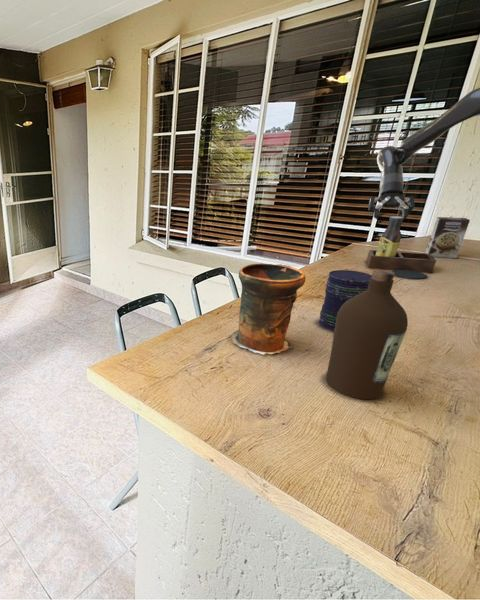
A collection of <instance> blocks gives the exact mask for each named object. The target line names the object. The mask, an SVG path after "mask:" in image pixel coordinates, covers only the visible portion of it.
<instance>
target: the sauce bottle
mask: <svg viewBox="0 0 480 600" xmlns="http://www.w3.org/2000/svg"><path fill="white" fill-rule="evenodd" d="M403 219H404V218H403V217H402V216H397V215H395V216H394V215H393V216H390V217H389V219H388V220H389V222H388V224H387V227H386V229H385V230H384V232H382V234H381V235H380V239H379V241H378V245H377V249H376V250H377V251H376V255H375V256H386V257H395V256H396V253H397V252H398V249H399V246H400V243H401V238H402V232H401V226H402V223H403V221H404V220H403Z"/></svg>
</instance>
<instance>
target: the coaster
mask: <svg viewBox="0 0 480 600" xmlns="http://www.w3.org/2000/svg"><path fill="white" fill-rule="evenodd" d="M390 271H391V272H393V273H395V276H394V277H398V278H402V279H406V280H407V279H408V280H425V279H426V278H427V277H428V276H427V274H426V273H423V272H415V271H408V270H390Z"/></svg>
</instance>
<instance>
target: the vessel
mask: <svg viewBox="0 0 480 600" xmlns="http://www.w3.org/2000/svg"><path fill="white" fill-rule="evenodd" d="M238 279H239V281H240V284H241V294H240V306H239V313H238V314H239V315H238V329H237V330H238V332H236V333H233V334H232V339H231V340H232V344H234V345H236V346H238V347H240V348H242V349H248V351H251V352H253V353H256V354H260V355H262V356H264V355H266V354H268V355H274V354H276V353H278V354H279V353H281V352H285V351H287V350H288V349H289V348H292V346H289V342H288V341H286V336H287V331H288V329H289V326H290V323H291V318H292V311H293V308H294V304H295V302H296V301H297V298H298V294H297V293H298V290H299V289H301V288H302V287H303V286H304V285H305V283H306V280H307V279H306V274H305V273H304V272H303V271H302V270H300V269H299V268H296V267H294V266H291V265H287V264H273V263H263V262H261V263H251V264H247V265H244V266H242V267H241V268H240V269H239V271H238Z"/></svg>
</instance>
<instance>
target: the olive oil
mask: <svg viewBox="0 0 480 600" xmlns="http://www.w3.org/2000/svg"><path fill="white" fill-rule="evenodd" d="M391 271H392V270H387V269H374V270H373V271H372V272H371V275H372V277H371V278H370V281H369V285H368V289H367V290H366V291H364V292H362V293H360V294H358V295H356V296H355V297H353V298H351V299H349V300H347V301H346V302H345V303H344V304H343V305H342V306H341V308H340V309H339V311H338V314H337V318H336V324H335V331H334V332H333V337H332V342H331V343H332V344H331V349H330V355H329V361H328V366H327V370H326V375H325V380H326V383H327V385H328V386H329V387H331V388H332V389H333V390H335V391H336V392H338V393H340V394H342V395H345V396H348V397H351V398H354V399H359V400H360V399H361V400H374V399H378V398H379V397H381V395H382V394H383V391H384V388H385V386H386V383H387V380H388V378H389V375H390V373H391V370H392V367H393V365H394V362H395V360H396V357H397V355H398V352H399V350H400V348H401V345H402V342H403V340H404V337H405V336H406V332H407V330H408V326H409V325H408V324H409V323H408V322H409V321H408V315H407V311H406V310H405V309H404V307H403V306H402V305H401V304H400V303H399V301H397V299H396V298H395V297H394V296H393V294H392V293H391V291H392V288H393V285H394V283H395V280H394V278H395V277H396V276H395V273H393V272H391Z"/></svg>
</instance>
